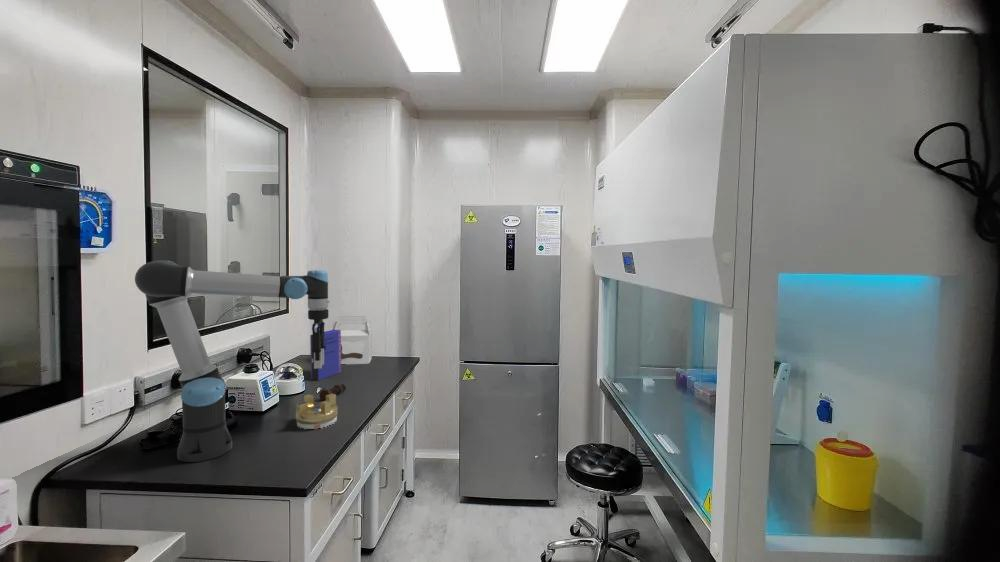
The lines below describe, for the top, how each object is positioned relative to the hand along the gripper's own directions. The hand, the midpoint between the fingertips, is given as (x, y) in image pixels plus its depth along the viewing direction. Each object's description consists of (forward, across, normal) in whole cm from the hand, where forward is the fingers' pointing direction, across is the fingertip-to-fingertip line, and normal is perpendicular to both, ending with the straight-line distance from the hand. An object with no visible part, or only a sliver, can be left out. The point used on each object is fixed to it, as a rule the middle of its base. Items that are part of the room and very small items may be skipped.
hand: (319, 366), depth 173 cm
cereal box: (+21, +61, +6) cm, 65 cm away
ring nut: (+18, -6, 0) cm, 19 cm away
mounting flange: (+21, -6, 0) cm, 22 cm away
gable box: (+21, +91, -4) cm, 94 cm away
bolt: (+21, +26, -2) cm, 34 cm away
